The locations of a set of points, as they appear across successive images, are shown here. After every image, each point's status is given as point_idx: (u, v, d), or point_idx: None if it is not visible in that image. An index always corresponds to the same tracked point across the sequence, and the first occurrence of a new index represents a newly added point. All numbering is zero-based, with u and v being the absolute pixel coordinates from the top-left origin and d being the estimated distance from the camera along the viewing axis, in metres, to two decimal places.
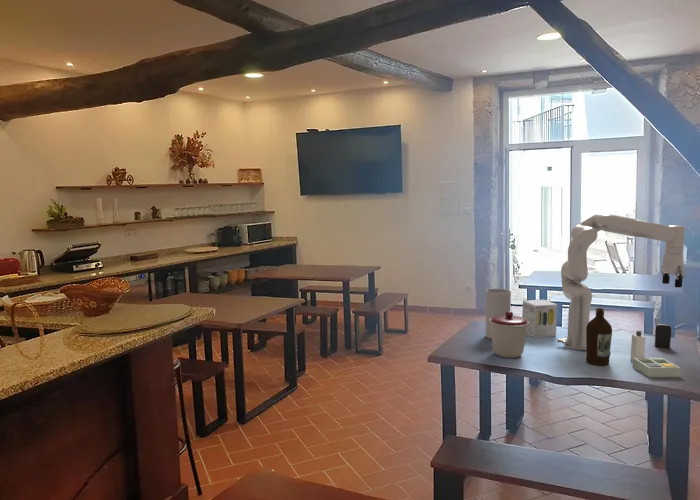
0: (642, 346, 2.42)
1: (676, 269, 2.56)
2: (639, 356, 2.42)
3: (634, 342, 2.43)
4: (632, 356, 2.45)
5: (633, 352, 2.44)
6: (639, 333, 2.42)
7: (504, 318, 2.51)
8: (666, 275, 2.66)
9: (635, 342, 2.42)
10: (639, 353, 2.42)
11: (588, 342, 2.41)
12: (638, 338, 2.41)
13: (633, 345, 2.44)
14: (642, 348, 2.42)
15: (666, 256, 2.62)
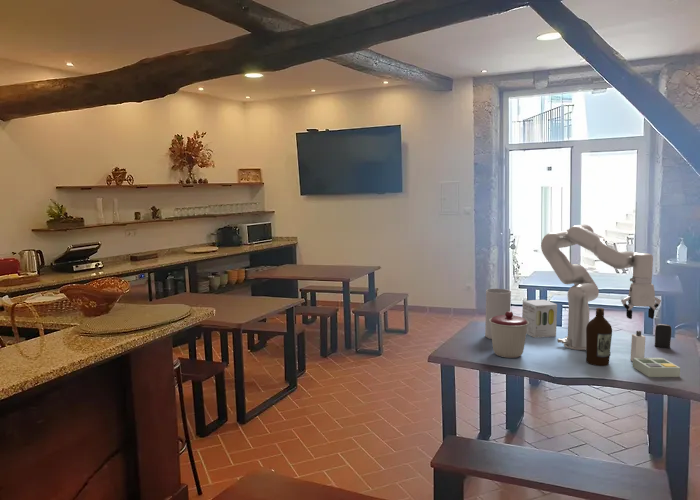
0: (642, 346, 2.42)
1: None
2: (639, 356, 2.42)
3: (634, 342, 2.43)
4: (632, 356, 2.45)
5: (633, 352, 2.44)
6: (639, 333, 2.42)
7: (504, 318, 2.51)
8: None
9: (635, 342, 2.42)
10: (639, 353, 2.42)
11: (588, 342, 2.41)
12: (638, 338, 2.41)
13: (633, 345, 2.44)
14: (642, 348, 2.42)
15: (641, 288, 2.38)
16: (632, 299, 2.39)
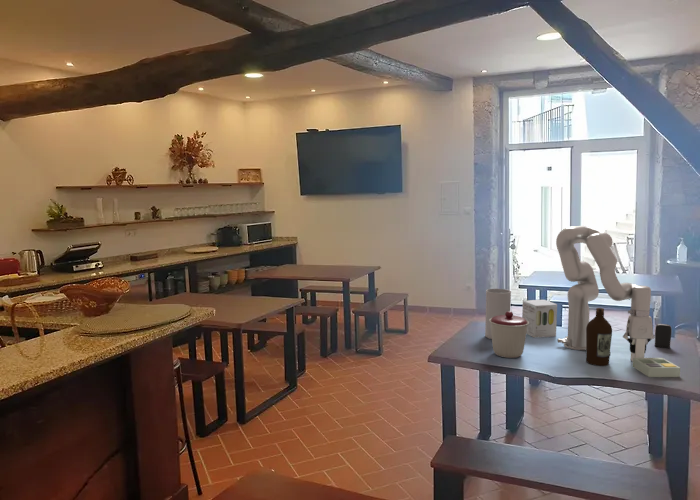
0: (642, 346, 2.42)
1: None
2: (639, 356, 2.42)
3: None
4: (632, 356, 2.45)
5: None
6: None
7: (504, 318, 2.51)
8: None
9: (635, 342, 2.42)
10: (639, 353, 2.42)
11: (588, 342, 2.41)
12: None
13: None
14: (642, 348, 2.42)
15: (638, 321, 2.40)
16: (630, 331, 2.41)
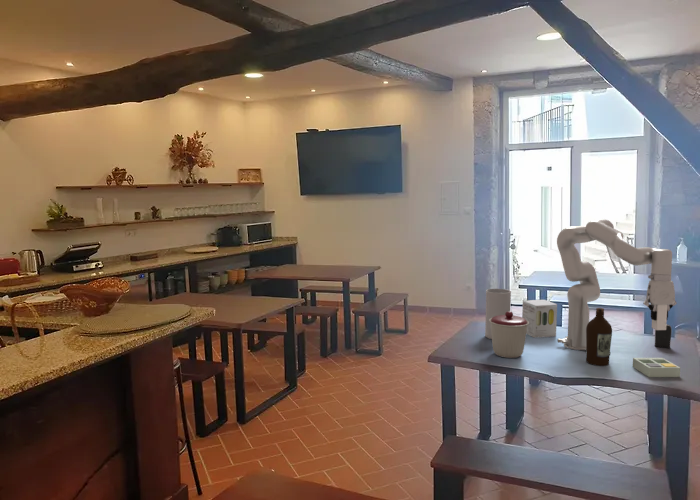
0: (664, 312, 2.30)
1: None
2: (661, 323, 2.30)
3: (656, 308, 2.31)
4: (653, 324, 2.33)
5: None
6: None
7: (504, 318, 2.51)
8: None
9: (656, 308, 2.30)
10: (661, 320, 2.30)
11: (588, 342, 2.41)
12: None
13: None
14: (664, 315, 2.30)
15: (660, 285, 2.28)
16: (651, 297, 2.29)
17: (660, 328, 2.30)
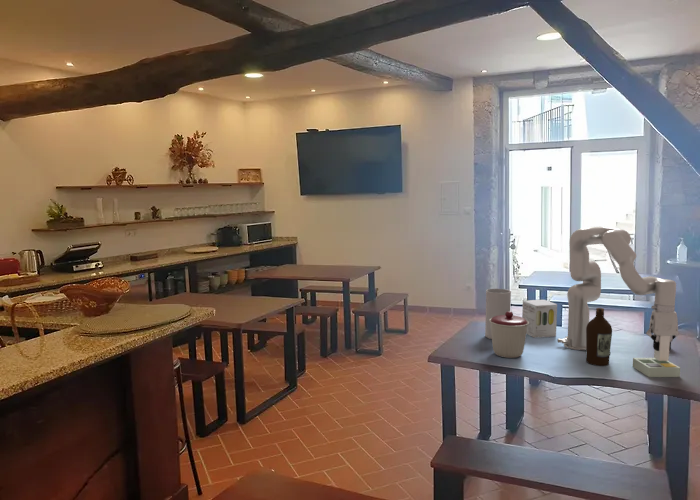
0: (667, 343, 2.29)
1: None
2: (663, 354, 2.29)
3: (659, 339, 2.30)
4: (656, 354, 2.32)
5: None
6: None
7: (504, 318, 2.51)
8: None
9: (659, 339, 2.29)
10: (663, 351, 2.29)
11: (588, 342, 2.41)
12: None
13: None
14: (667, 345, 2.29)
15: (663, 316, 2.27)
16: (654, 328, 2.28)
17: (662, 359, 2.30)
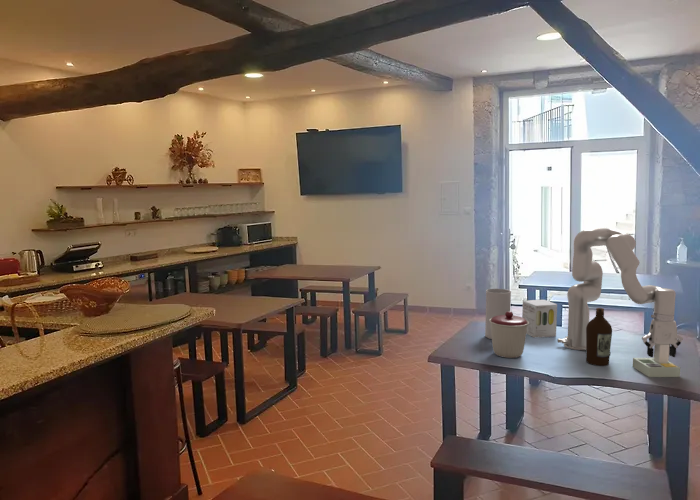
0: (666, 354, 2.29)
1: None
2: None
3: (658, 350, 2.30)
4: None
5: (656, 361, 2.32)
6: None
7: (504, 318, 2.51)
8: None
9: (658, 350, 2.30)
10: (663, 362, 2.30)
11: (588, 342, 2.41)
12: (662, 346, 2.29)
13: (656, 353, 2.31)
14: (666, 357, 2.30)
15: (662, 326, 2.27)
16: (653, 337, 2.29)
17: None
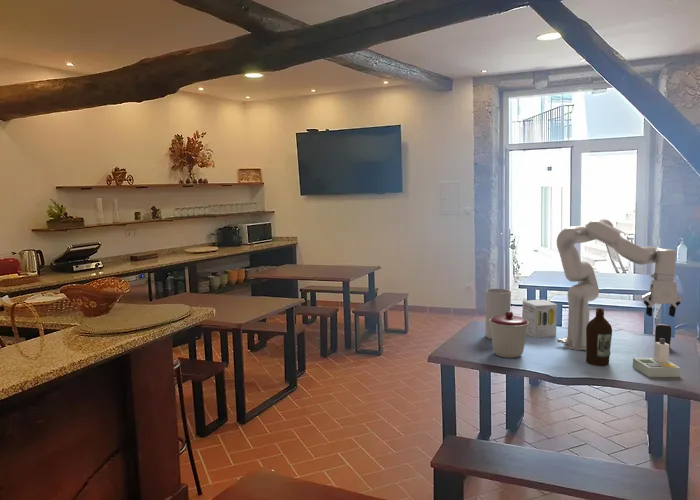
0: (666, 354, 2.29)
1: None
2: None
3: (658, 350, 2.30)
4: None
5: (656, 361, 2.32)
6: (663, 341, 2.30)
7: (504, 318, 2.51)
8: None
9: (658, 350, 2.30)
10: (663, 362, 2.30)
11: (588, 342, 2.41)
12: (662, 346, 2.29)
13: (656, 353, 2.31)
14: (666, 357, 2.30)
15: (662, 285, 2.30)
16: (653, 296, 2.32)
17: None
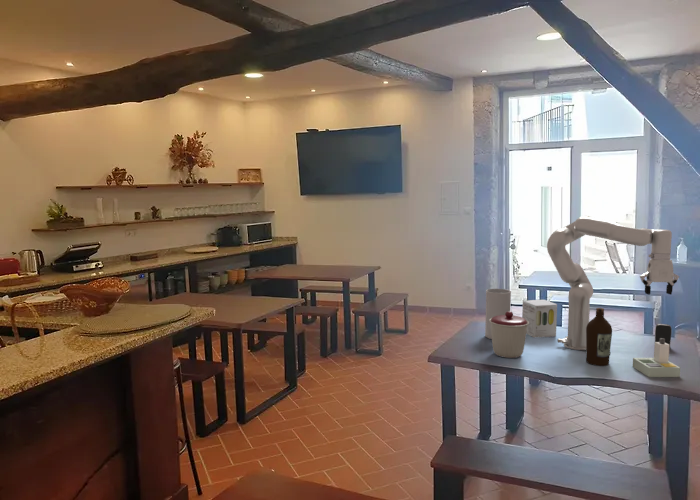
0: (666, 354, 2.29)
1: None
2: None
3: (658, 350, 2.30)
4: None
5: (656, 361, 2.32)
6: (662, 341, 2.30)
7: (504, 318, 2.51)
8: None
9: (658, 350, 2.30)
10: (663, 362, 2.30)
11: (588, 342, 2.41)
12: (662, 346, 2.29)
13: (656, 353, 2.31)
14: (666, 357, 2.30)
15: (659, 264, 2.41)
16: (651, 275, 2.42)
17: None
